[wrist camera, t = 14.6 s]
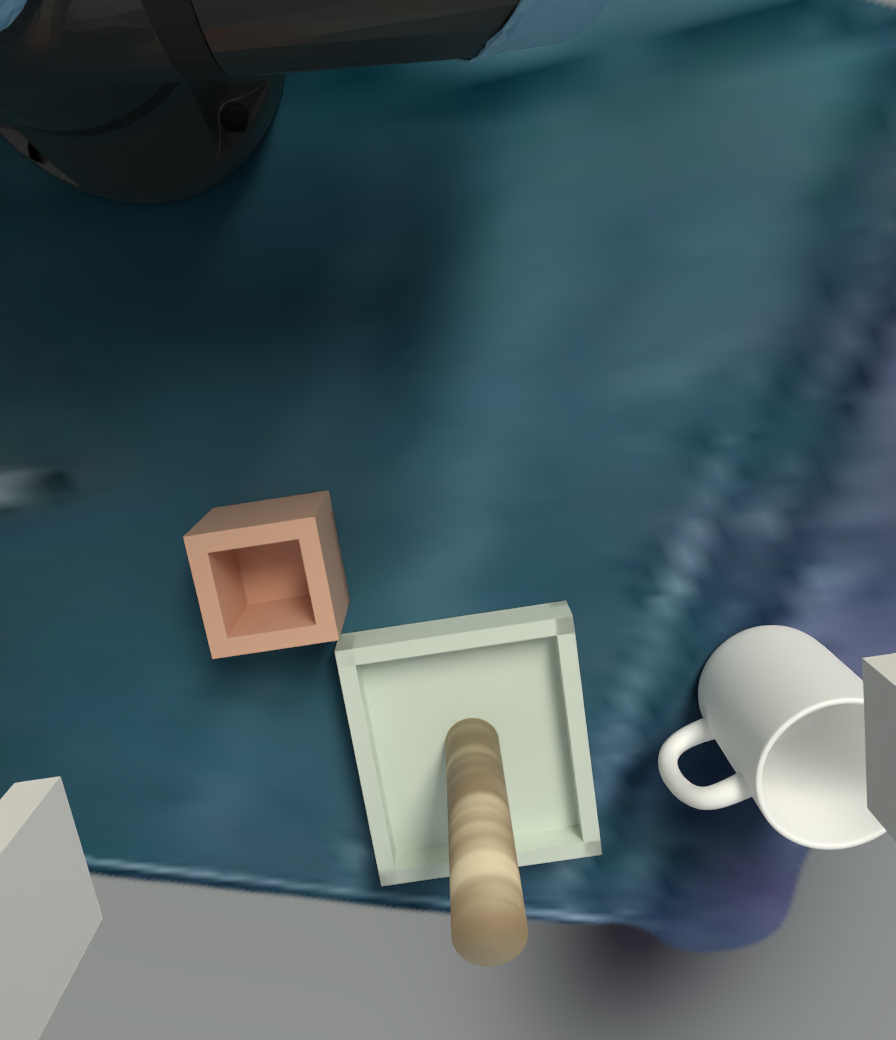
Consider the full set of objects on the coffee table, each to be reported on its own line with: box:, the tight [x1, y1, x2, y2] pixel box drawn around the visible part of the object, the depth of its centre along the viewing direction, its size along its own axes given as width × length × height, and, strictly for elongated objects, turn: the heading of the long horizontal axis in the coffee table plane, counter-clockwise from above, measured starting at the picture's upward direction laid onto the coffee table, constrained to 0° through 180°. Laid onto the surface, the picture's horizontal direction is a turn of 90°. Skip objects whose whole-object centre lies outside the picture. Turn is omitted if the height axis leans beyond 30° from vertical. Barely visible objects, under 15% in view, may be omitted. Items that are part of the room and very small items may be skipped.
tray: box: [335, 601, 602, 886], centre depth 51 cm, size 15×13×2 cm
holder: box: [183, 490, 350, 659], centre depth 46 cm, size 7×7×6 cm
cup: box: [658, 625, 886, 850], centre depth 47 cm, size 8×12×10 cm
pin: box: [445, 718, 528, 966], centre depth 44 cm, size 3×3×16 cm
